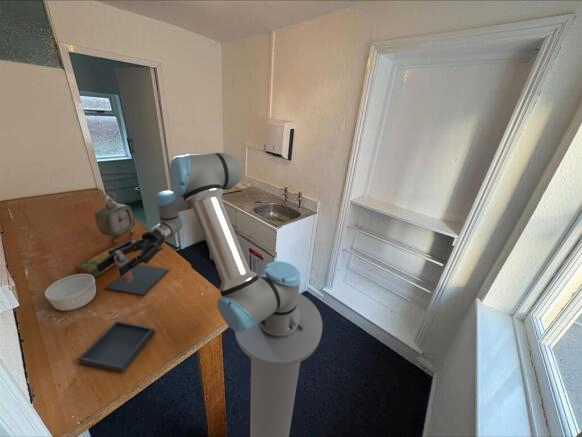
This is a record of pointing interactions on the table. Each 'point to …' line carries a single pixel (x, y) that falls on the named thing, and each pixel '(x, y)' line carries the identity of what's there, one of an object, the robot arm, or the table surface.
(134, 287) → the mat
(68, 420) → the table surface
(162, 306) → the table surface
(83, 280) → the ramekin
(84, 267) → the carton
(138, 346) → the tray
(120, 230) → the tabletop clock
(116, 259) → the lighter
